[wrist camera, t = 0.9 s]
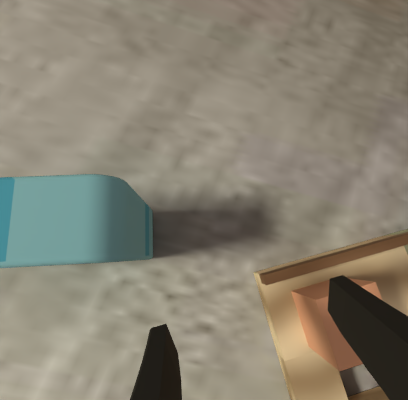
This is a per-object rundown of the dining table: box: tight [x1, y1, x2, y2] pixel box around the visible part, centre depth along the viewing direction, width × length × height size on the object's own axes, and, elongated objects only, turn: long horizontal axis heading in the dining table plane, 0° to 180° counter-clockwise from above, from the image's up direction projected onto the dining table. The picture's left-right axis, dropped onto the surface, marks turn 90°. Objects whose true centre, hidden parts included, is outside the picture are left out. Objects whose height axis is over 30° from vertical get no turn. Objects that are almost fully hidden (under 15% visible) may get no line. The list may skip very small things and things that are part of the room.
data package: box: [0, 174, 153, 268], centre depth 18 cm, size 12×4×12 cm, turn 93°
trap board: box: [254, 229, 408, 400], centre depth 21 cm, size 13×20×4 cm, turn 105°
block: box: [291, 278, 383, 371], centre depth 19 cm, size 4×4×4 cm
